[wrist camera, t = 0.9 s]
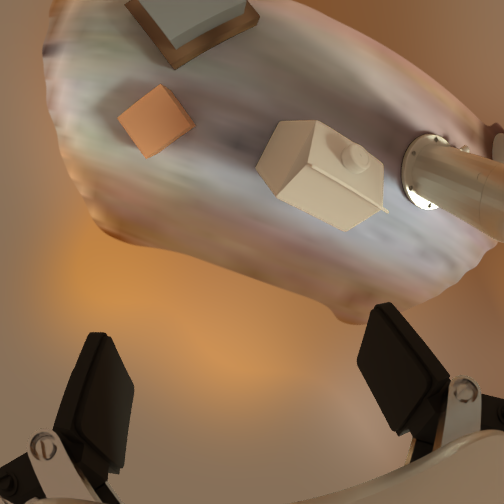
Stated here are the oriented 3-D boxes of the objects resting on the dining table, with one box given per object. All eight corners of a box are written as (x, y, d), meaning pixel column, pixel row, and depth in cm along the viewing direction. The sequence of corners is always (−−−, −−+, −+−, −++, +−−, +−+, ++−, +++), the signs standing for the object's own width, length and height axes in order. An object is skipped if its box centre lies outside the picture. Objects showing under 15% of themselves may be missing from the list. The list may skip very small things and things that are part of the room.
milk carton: (301, 191, 37) (365, 252, 20) (254, 168, 35) (286, 213, 18) (325, 146, 34) (410, 172, 17) (279, 120, 33) (336, 118, 16)
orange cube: (170, 90, 29) (160, 83, 24) (196, 125, 32) (190, 125, 27) (133, 118, 30) (116, 118, 25) (158, 153, 33) (146, 158, 27)
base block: (209, -28, 22) (208, -42, 18) (256, 26, 27) (260, 16, 23) (133, 14, 24) (124, 4, 20) (176, 70, 29) (170, 64, 25)
